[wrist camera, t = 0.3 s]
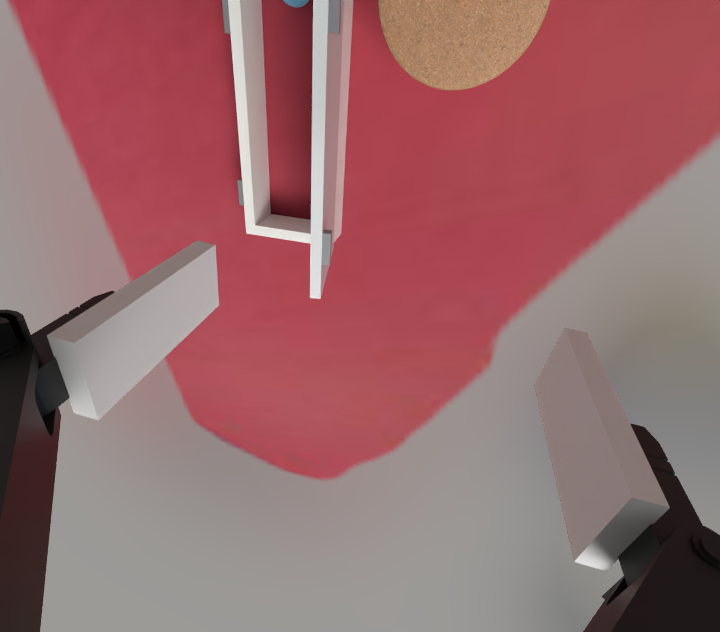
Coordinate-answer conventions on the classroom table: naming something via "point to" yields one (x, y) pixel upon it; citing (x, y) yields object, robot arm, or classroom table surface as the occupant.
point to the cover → (324, 135)
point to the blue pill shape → (296, 3)
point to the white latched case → (252, 122)
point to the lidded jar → (459, 37)
